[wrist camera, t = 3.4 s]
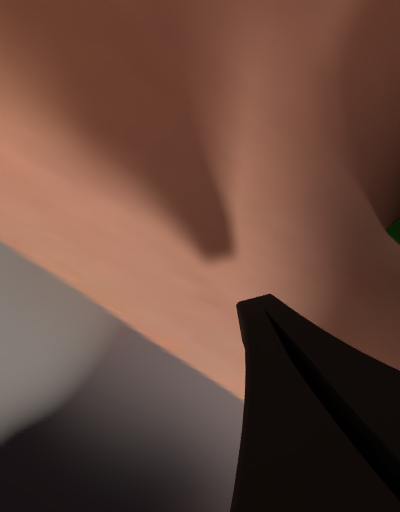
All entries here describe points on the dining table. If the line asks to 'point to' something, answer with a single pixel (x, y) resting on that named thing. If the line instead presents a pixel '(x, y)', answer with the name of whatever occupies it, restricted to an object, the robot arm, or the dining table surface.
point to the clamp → (394, 231)
